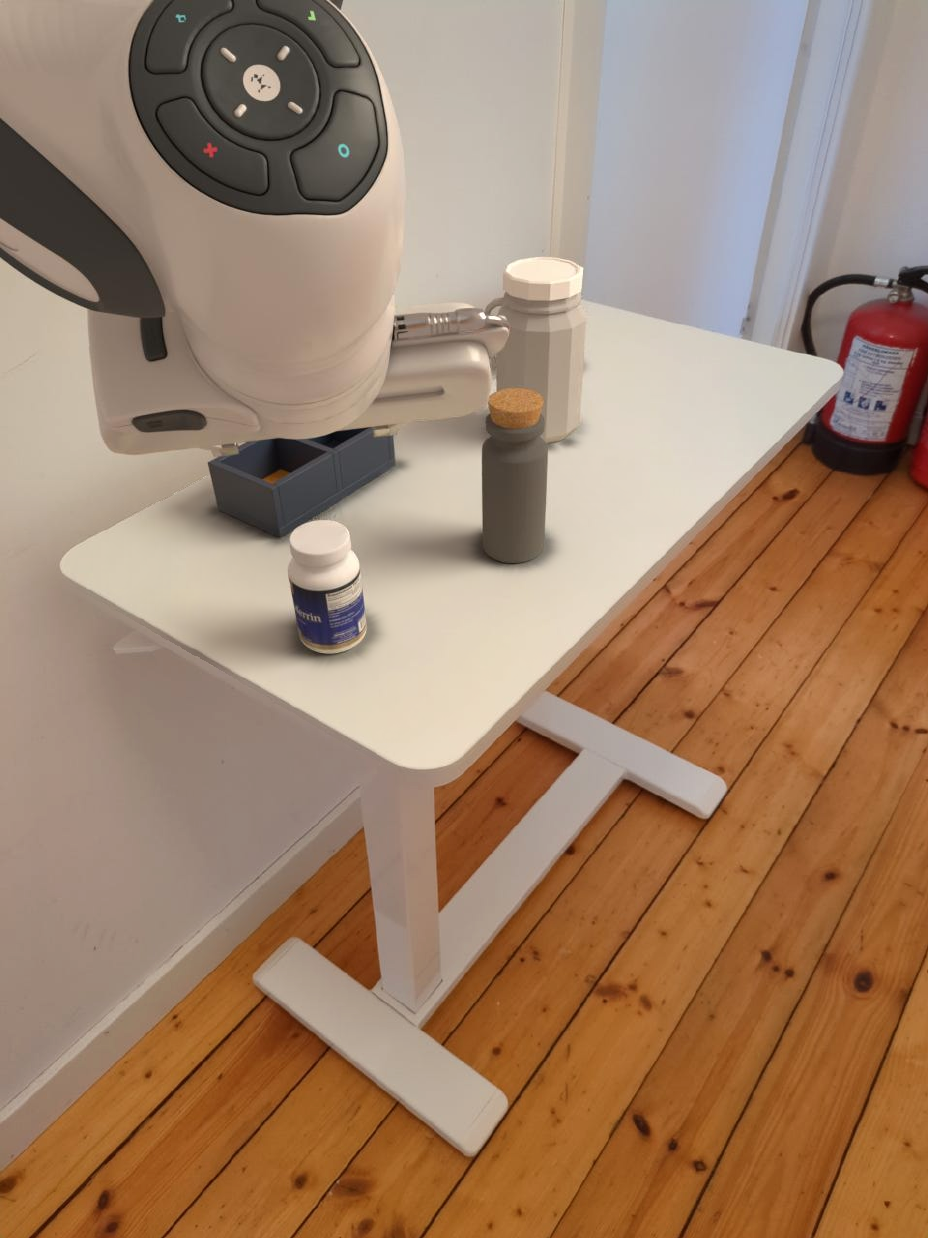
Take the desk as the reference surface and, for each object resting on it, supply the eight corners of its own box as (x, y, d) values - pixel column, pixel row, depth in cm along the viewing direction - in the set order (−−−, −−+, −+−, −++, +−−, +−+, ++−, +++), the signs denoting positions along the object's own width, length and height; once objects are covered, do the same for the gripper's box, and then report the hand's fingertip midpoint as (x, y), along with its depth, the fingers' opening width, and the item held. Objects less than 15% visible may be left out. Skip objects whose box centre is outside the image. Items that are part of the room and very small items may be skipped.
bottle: (521, 571, 82) (524, 421, 72) (470, 550, 85) (467, 402, 75) (556, 542, 85) (563, 395, 76) (505, 522, 88) (507, 378, 79)
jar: (532, 456, 99) (537, 291, 87) (479, 424, 105) (477, 266, 94) (598, 430, 103) (610, 270, 92) (543, 401, 109) (548, 248, 98)
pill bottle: (286, 632, 76) (267, 533, 69) (342, 604, 79) (329, 507, 72) (323, 666, 72) (307, 565, 66) (381, 636, 75) (370, 536, 69)
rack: (280, 538, 87) (271, 489, 84) (217, 510, 91) (207, 462, 88) (395, 465, 98) (392, 419, 94) (334, 443, 102) (329, 398, 99)
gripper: (505, 246, 42) (465, 364, 56) (48, 288, 39) (124, 402, 52) (529, 374, 41) (482, 462, 55) (66, 427, 38) (139, 506, 52)
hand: (305, 433), depth 54 cm, fingers open, 8 cm apart
